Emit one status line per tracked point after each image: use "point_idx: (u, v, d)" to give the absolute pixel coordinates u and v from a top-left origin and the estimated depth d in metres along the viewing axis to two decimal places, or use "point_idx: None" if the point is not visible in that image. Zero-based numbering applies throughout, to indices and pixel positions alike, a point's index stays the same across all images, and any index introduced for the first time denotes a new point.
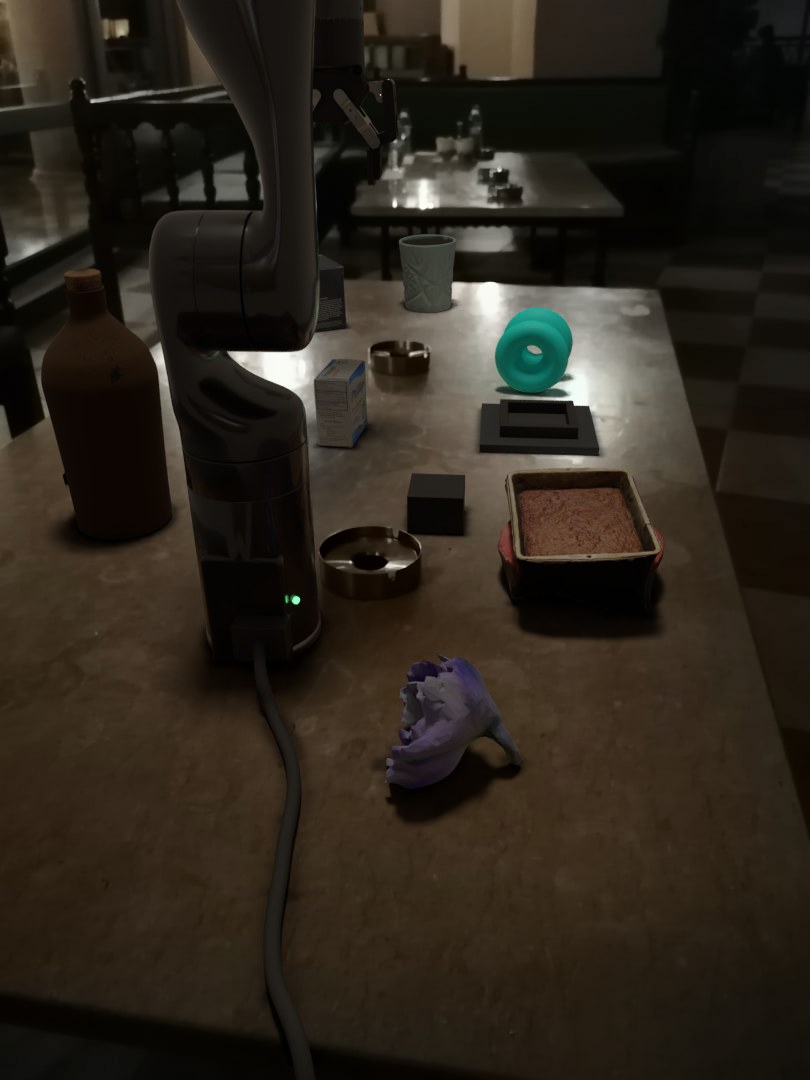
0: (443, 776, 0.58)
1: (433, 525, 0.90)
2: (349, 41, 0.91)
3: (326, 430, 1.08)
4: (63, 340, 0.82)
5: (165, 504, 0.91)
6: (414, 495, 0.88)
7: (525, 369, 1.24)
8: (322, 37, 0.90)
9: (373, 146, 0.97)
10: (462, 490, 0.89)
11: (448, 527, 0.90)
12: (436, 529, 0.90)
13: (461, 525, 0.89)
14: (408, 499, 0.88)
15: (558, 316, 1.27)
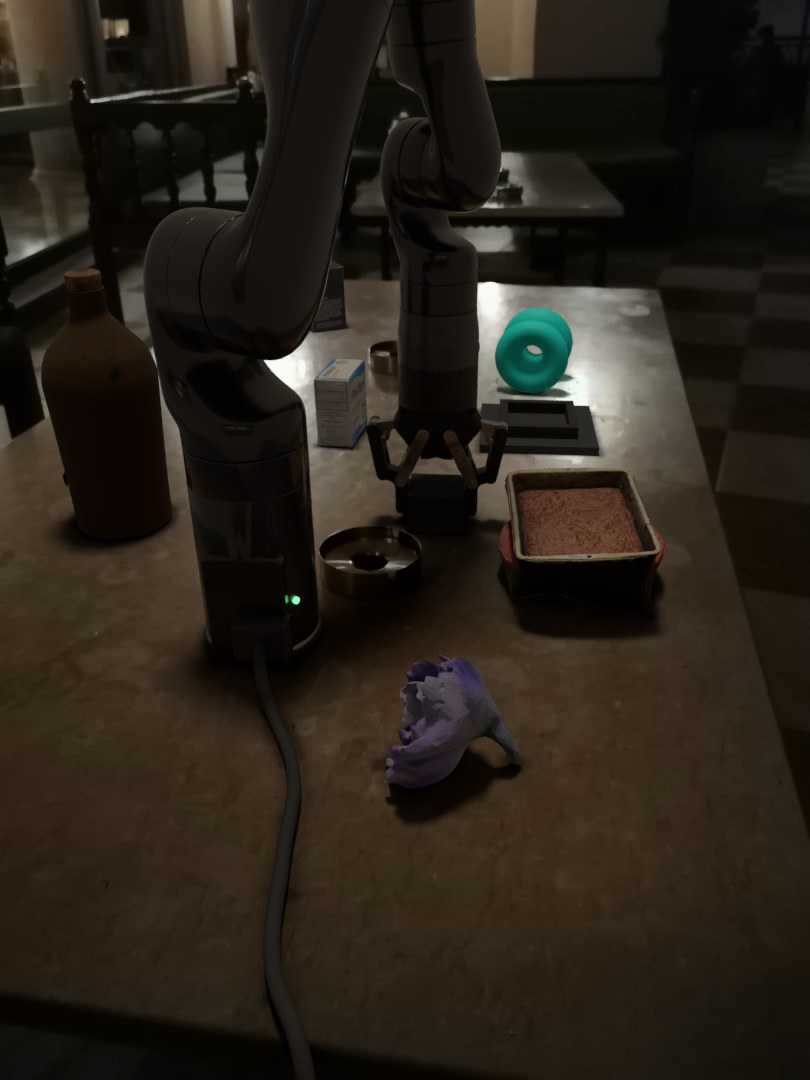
0: (443, 776, 0.58)
1: (433, 525, 0.90)
2: (464, 389, 0.83)
3: (326, 430, 1.08)
4: (63, 340, 0.82)
5: (165, 504, 0.91)
6: (414, 495, 0.88)
7: (525, 369, 1.24)
8: (436, 389, 0.82)
9: (471, 487, 0.89)
10: (462, 490, 0.89)
11: (448, 527, 0.90)
12: (436, 529, 0.90)
13: (461, 525, 0.89)
14: (408, 499, 0.88)
15: (558, 316, 1.27)
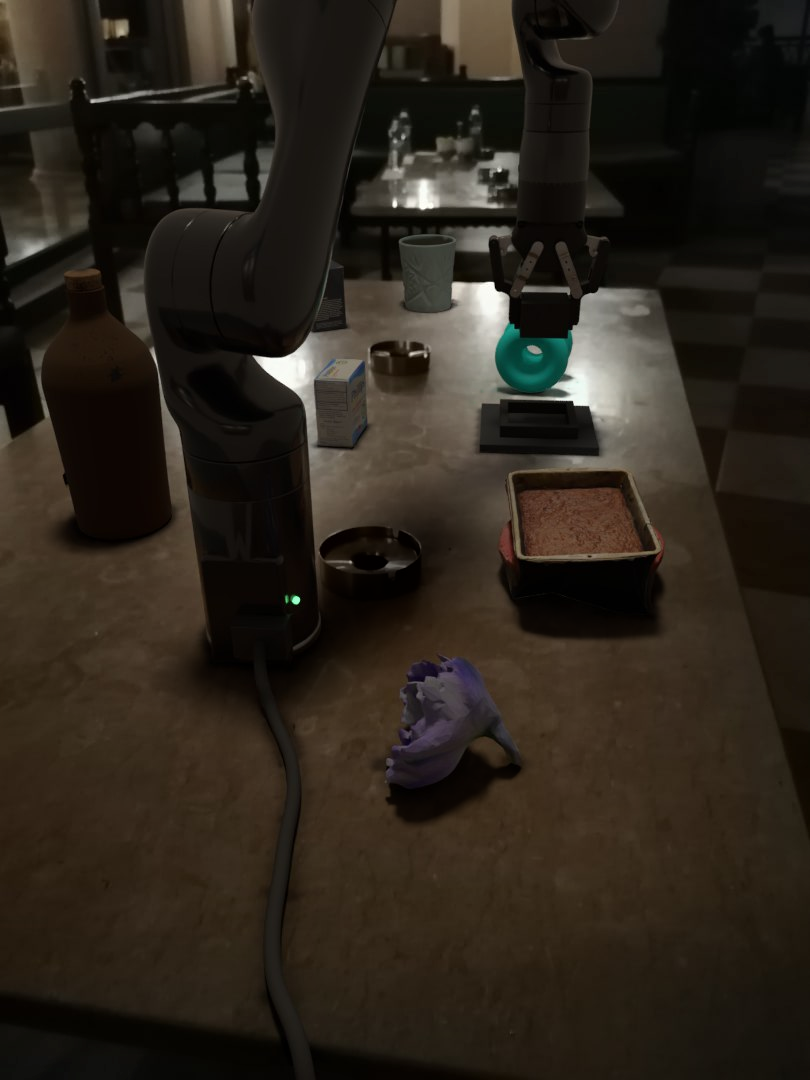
0: (443, 776, 0.58)
1: (542, 331, 1.04)
2: (577, 201, 0.97)
3: (326, 430, 1.08)
4: (63, 340, 0.82)
5: (165, 504, 0.91)
6: (527, 302, 1.03)
7: (525, 369, 1.24)
8: (554, 199, 0.96)
9: (575, 297, 1.04)
10: (568, 300, 1.04)
11: (555, 332, 1.04)
12: (545, 334, 1.05)
13: (567, 330, 1.04)
14: (522, 306, 1.03)
15: None
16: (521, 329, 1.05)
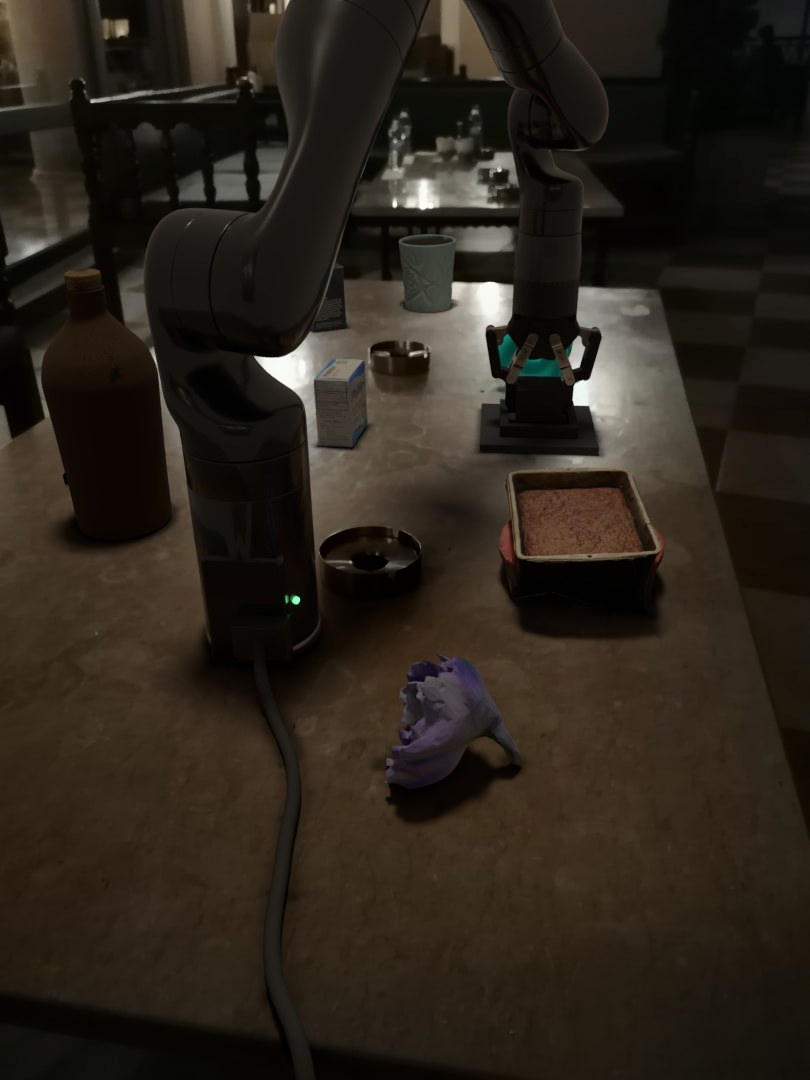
0: (443, 776, 0.58)
1: (537, 415, 1.09)
2: (570, 298, 1.02)
3: (326, 430, 1.08)
4: (63, 340, 0.82)
5: (165, 504, 0.91)
6: (523, 389, 1.08)
7: (525, 369, 1.24)
8: (548, 297, 1.02)
9: (569, 383, 1.09)
10: (561, 386, 1.09)
11: (549, 416, 1.09)
12: (539, 418, 1.10)
13: (560, 415, 1.09)
14: (518, 392, 1.08)
15: None
16: (517, 414, 1.10)
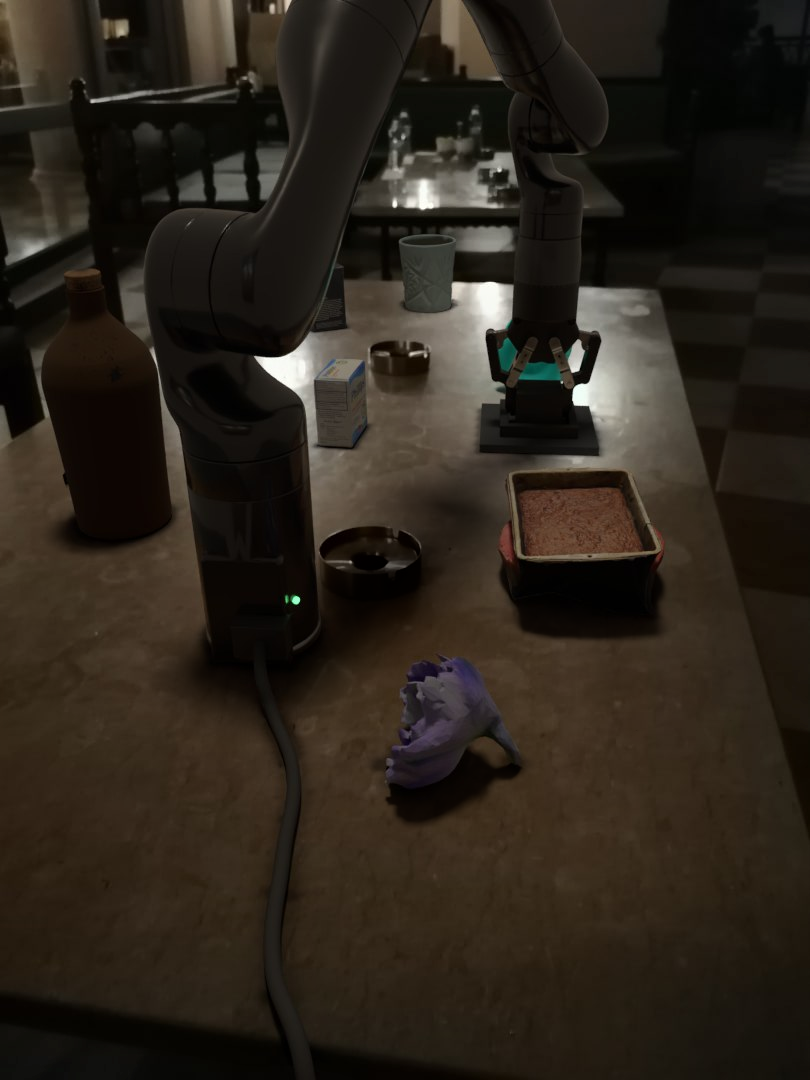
0: (443, 776, 0.58)
1: (537, 419, 1.10)
2: (569, 301, 1.03)
3: (326, 430, 1.08)
4: (63, 340, 0.82)
5: (165, 504, 0.91)
6: (522, 393, 1.08)
7: (525, 369, 1.24)
8: (548, 300, 1.02)
9: (568, 387, 1.09)
10: (561, 390, 1.09)
11: (549, 420, 1.09)
12: (539, 422, 1.10)
13: (560, 418, 1.09)
14: (518, 396, 1.08)
15: None
16: (516, 417, 1.10)
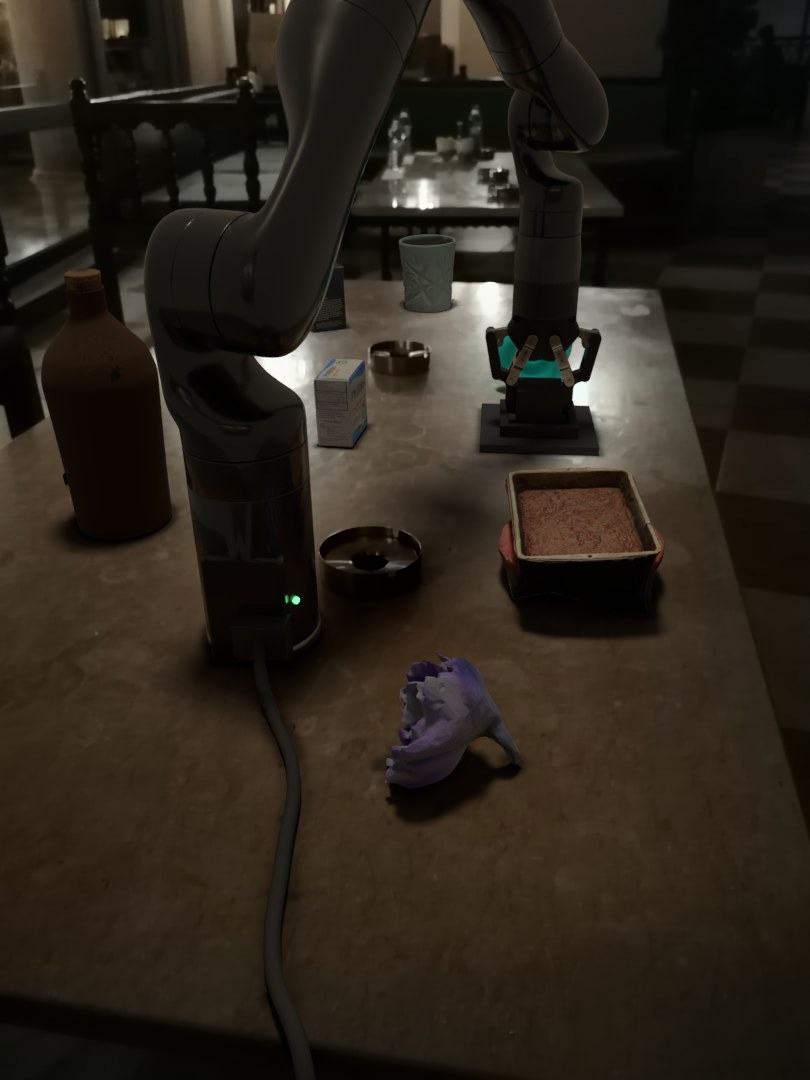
0: (443, 776, 0.58)
1: (537, 417, 1.09)
2: (570, 299, 1.03)
3: (326, 430, 1.08)
4: (63, 340, 0.82)
5: (165, 504, 0.91)
6: (522, 391, 1.08)
7: (525, 369, 1.24)
8: (548, 298, 1.02)
9: (568, 385, 1.09)
10: (561, 387, 1.09)
11: (549, 418, 1.09)
12: (539, 420, 1.10)
13: (560, 416, 1.09)
14: (518, 394, 1.08)
15: None
16: (517, 415, 1.10)
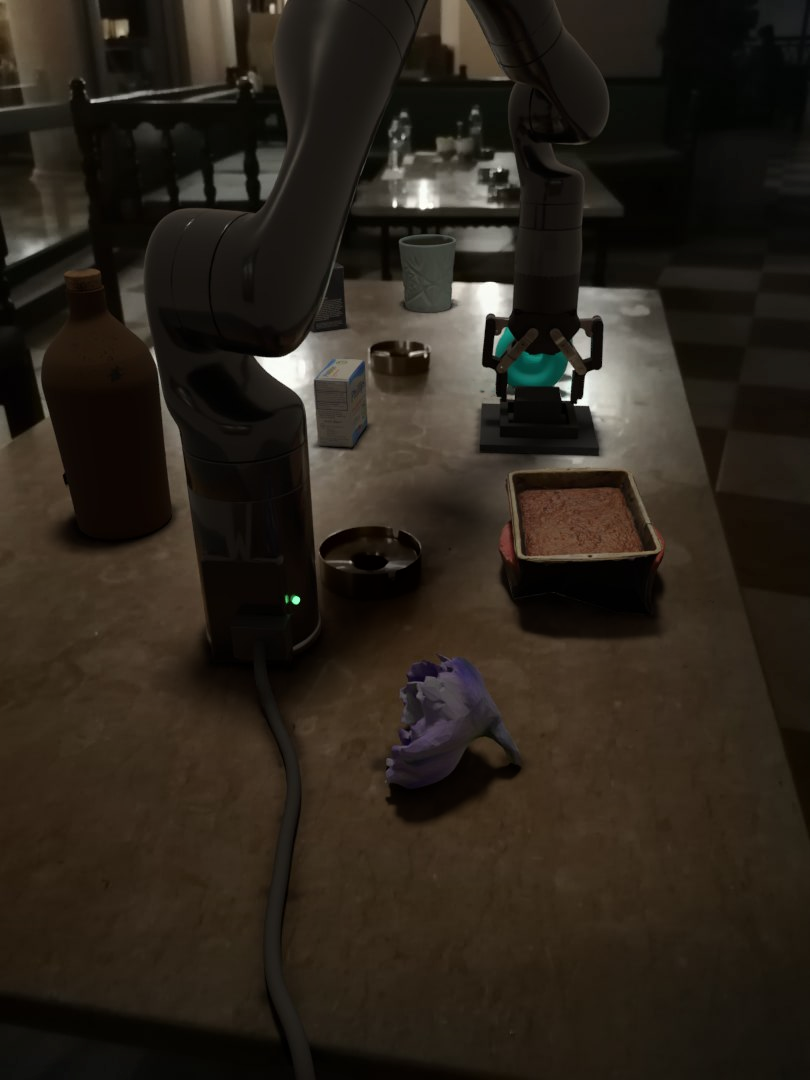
0: (443, 776, 0.58)
1: None
2: (570, 292, 1.02)
3: (326, 430, 1.08)
4: (63, 340, 0.82)
5: (165, 504, 0.91)
6: (521, 400, 1.09)
7: (525, 369, 1.24)
8: (548, 291, 1.01)
9: (580, 373, 1.08)
10: (559, 396, 1.10)
11: None
12: None
13: None
14: (516, 403, 1.09)
15: None
16: None
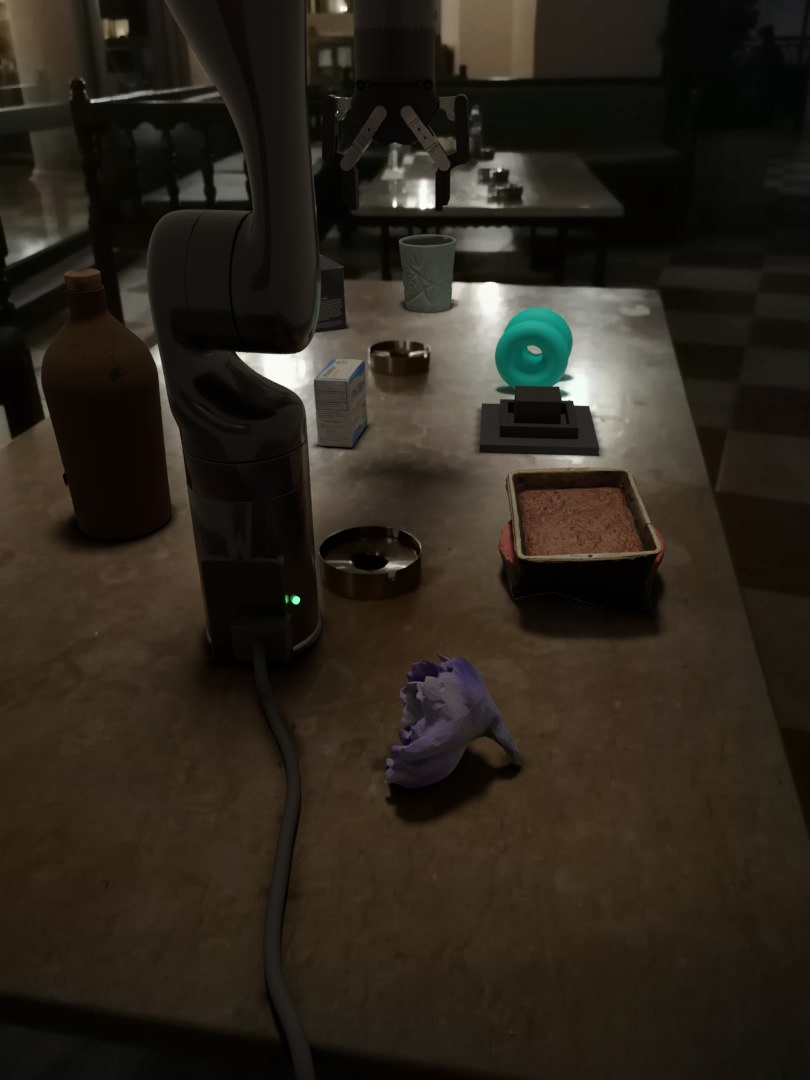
0: (443, 776, 0.58)
1: None
2: (421, 53, 0.81)
3: (326, 430, 1.08)
4: (63, 340, 0.82)
5: (165, 504, 0.91)
6: (521, 400, 1.09)
7: (525, 369, 1.24)
8: (391, 49, 0.81)
9: (443, 169, 0.87)
10: (559, 396, 1.10)
11: None
12: None
13: None
14: (516, 403, 1.09)
15: (558, 316, 1.27)
16: None
